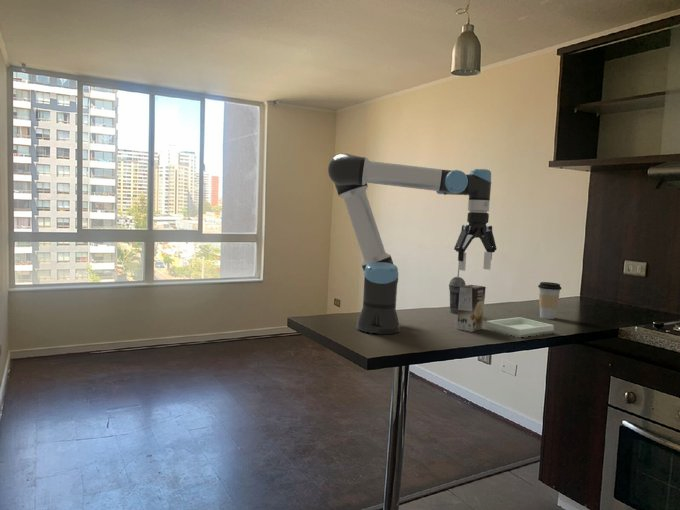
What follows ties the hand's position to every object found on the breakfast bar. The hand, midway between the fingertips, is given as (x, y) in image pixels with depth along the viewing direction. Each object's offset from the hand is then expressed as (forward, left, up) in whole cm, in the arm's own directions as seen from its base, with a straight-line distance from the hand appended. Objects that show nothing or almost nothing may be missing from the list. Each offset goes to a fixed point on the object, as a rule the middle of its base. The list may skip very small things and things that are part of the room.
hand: (474, 269), depth 190 cm
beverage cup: (+19, +25, -22) cm, 38 cm away
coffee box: (0, 0, -22) cm, 22 cm away
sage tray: (+16, -10, -22) cm, 29 cm away
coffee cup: (+51, +2, -22) cm, 56 cm away
